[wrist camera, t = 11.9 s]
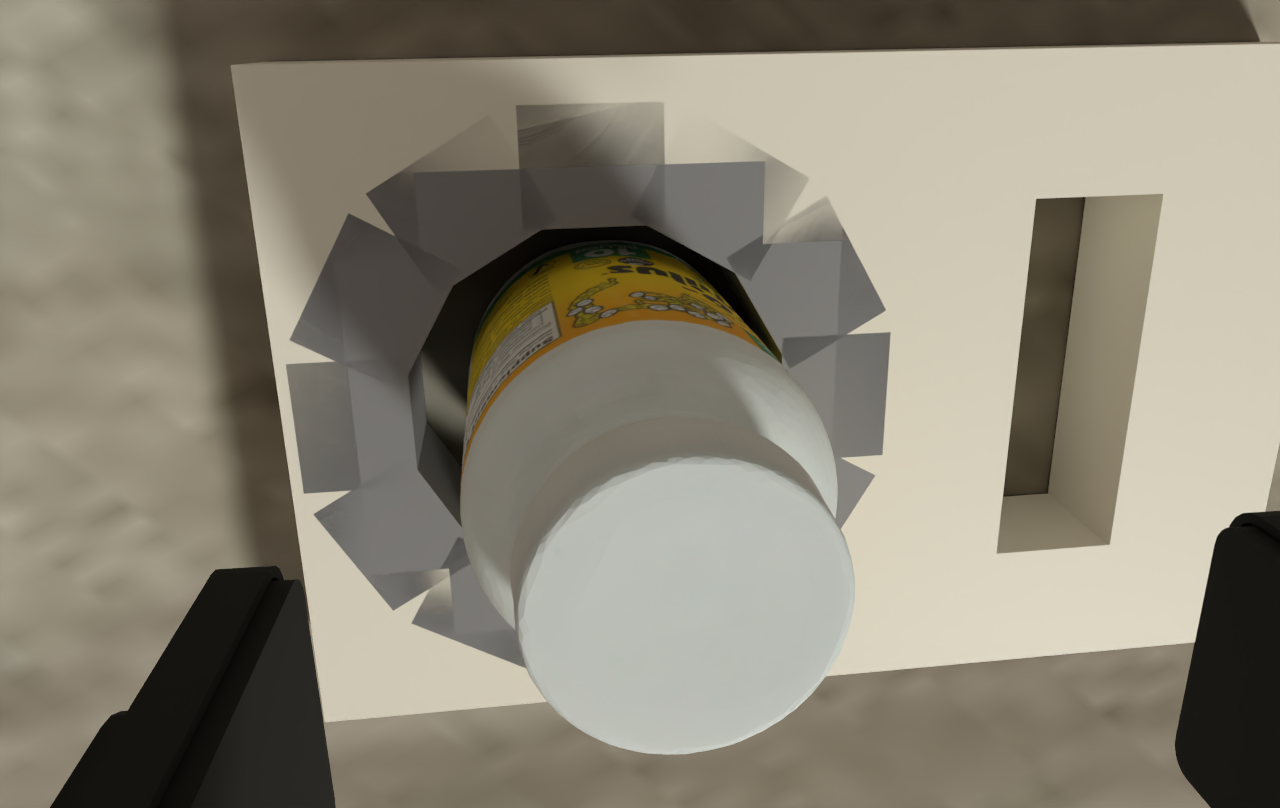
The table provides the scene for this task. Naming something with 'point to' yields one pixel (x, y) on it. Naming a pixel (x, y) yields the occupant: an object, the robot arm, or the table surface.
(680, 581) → the supplement bottle
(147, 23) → the table surface
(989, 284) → the socket plate
